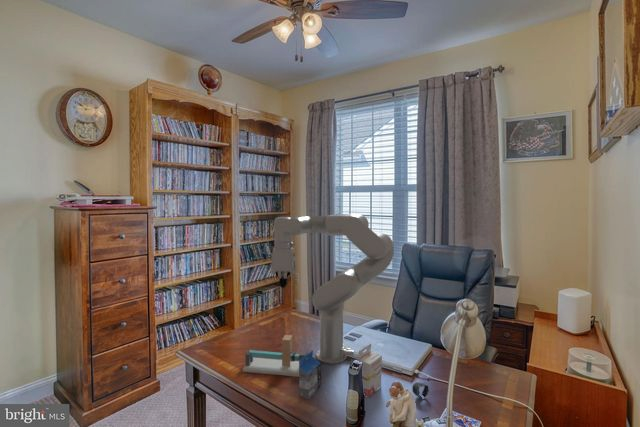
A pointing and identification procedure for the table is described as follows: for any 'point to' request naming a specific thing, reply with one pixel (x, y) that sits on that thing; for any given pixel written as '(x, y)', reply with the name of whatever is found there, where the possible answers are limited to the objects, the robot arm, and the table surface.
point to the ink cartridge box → (370, 370)
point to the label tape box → (309, 376)
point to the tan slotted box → (287, 349)
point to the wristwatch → (416, 389)
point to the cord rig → (272, 363)
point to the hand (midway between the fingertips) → (283, 286)
